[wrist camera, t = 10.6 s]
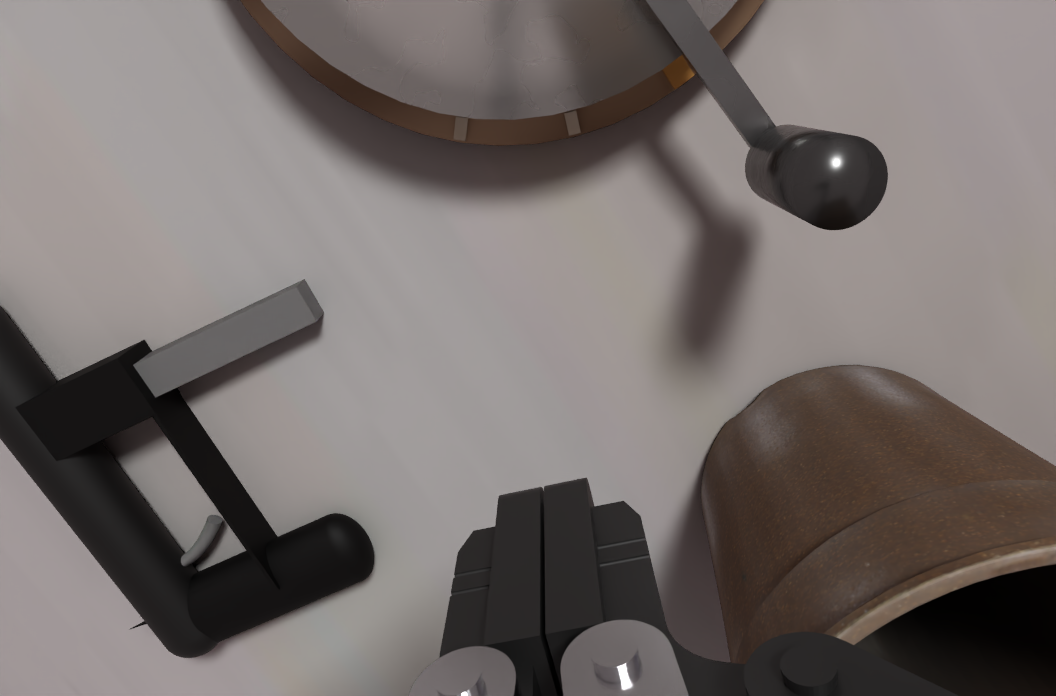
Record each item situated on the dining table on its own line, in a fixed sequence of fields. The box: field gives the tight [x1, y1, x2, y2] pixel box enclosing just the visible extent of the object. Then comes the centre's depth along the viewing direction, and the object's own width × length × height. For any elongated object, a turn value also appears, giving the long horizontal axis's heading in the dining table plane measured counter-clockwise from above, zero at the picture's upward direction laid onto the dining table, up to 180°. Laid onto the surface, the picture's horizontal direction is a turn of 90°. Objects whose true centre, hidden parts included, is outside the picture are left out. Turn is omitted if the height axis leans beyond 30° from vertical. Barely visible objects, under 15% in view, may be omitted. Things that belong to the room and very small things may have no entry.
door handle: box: [0, 279, 374, 658], centre depth 33 cm, size 3×20×16 cm
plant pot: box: [701, 365, 1056, 696], centre depth 26 cm, size 16×16×16 cm
